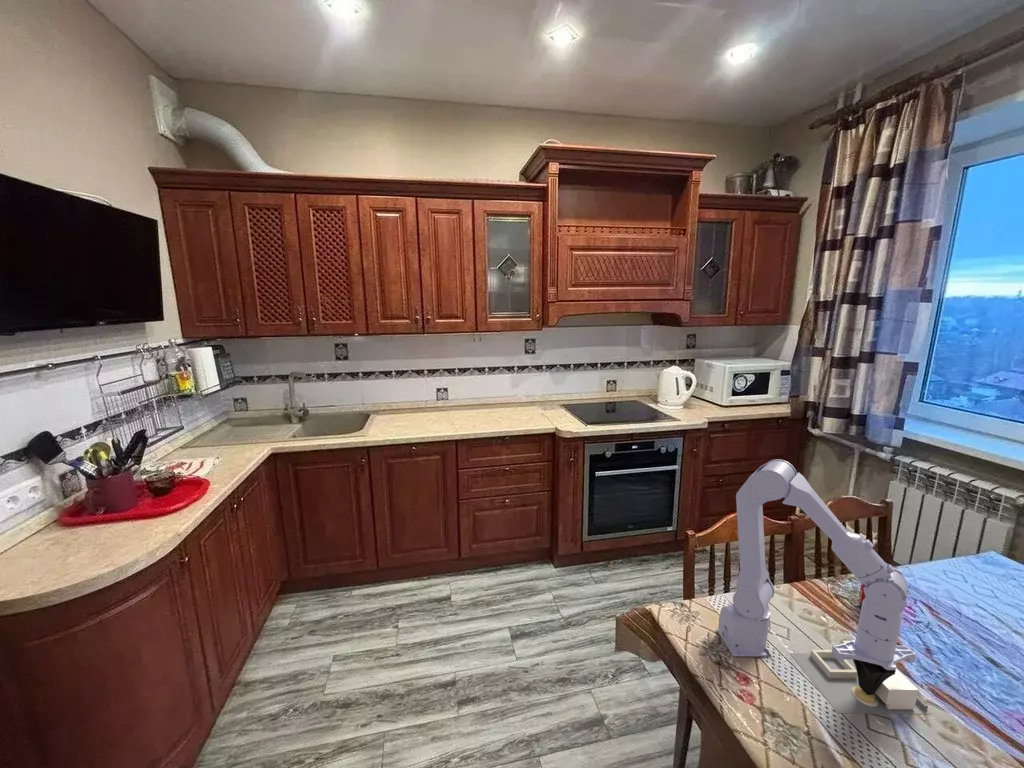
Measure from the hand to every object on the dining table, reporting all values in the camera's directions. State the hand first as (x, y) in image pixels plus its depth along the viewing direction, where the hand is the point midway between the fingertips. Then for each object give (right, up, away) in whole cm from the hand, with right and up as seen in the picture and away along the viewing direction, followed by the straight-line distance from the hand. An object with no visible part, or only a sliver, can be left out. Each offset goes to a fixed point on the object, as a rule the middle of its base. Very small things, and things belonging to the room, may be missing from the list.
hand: (866, 690), depth 83 cm
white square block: (+4, -1, 0) cm, 4 cm away
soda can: (+25, +2, +27) cm, 37 cm away
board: (+1, -2, +4) cm, 5 cm away
